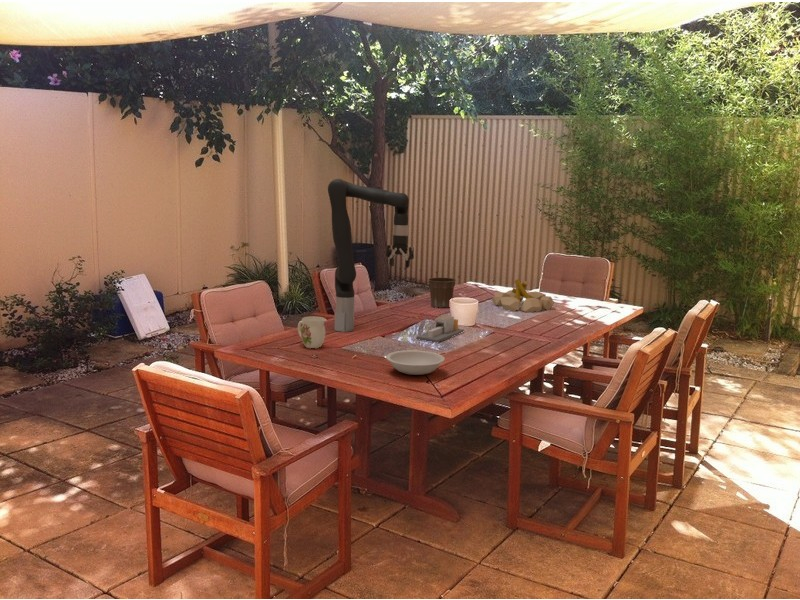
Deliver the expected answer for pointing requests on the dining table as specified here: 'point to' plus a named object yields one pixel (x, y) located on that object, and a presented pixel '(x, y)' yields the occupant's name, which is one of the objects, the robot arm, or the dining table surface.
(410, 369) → the soup bowl
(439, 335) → the coupler stand
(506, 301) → the campfire
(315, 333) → the pitcher
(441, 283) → the plant pot
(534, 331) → the dining table surface
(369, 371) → the dining table surface
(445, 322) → the lock block
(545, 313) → the dining table surface
